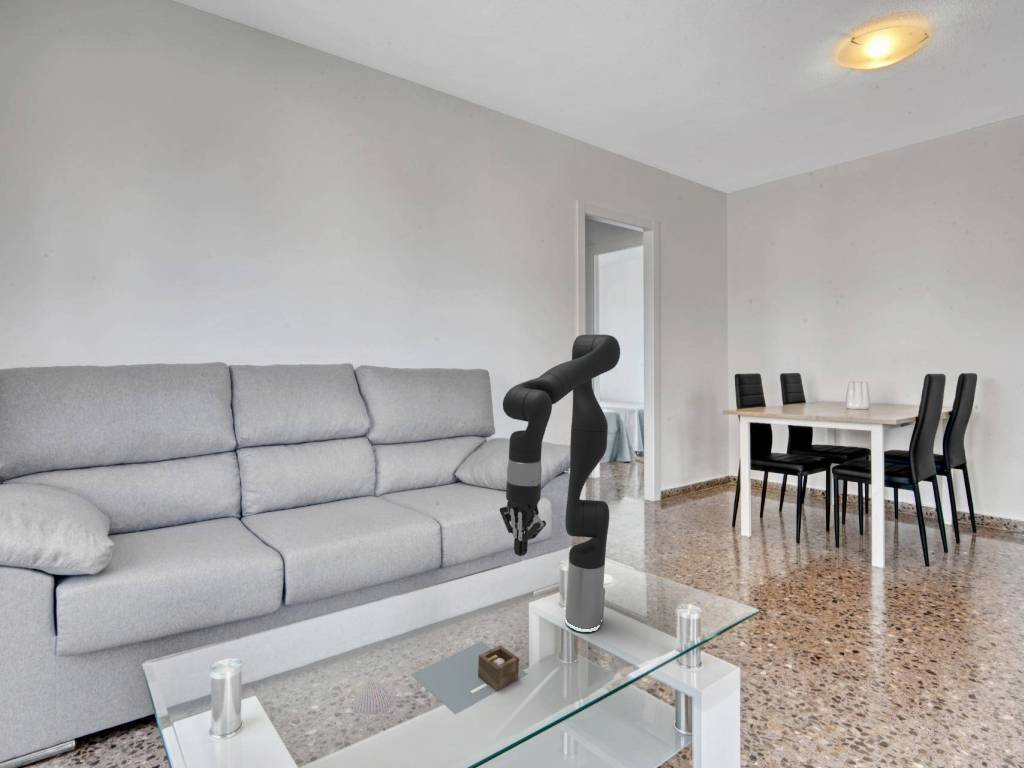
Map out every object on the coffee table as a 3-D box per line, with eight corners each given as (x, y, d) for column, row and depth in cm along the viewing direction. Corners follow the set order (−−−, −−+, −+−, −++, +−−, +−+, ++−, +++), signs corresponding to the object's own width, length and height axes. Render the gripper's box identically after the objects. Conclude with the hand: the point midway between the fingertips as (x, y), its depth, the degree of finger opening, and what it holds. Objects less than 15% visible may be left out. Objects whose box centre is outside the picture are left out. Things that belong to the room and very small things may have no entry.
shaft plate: (481, 646, 142) (481, 625, 141) (527, 678, 131) (528, 657, 130) (410, 679, 129) (410, 657, 128) (455, 719, 117) (455, 695, 116)
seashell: (390, 670, 127) (406, 687, 119) (391, 696, 127) (407, 715, 118) (342, 683, 122) (355, 702, 113) (343, 710, 122) (356, 731, 113)
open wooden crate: (499, 665, 133) (500, 642, 132) (518, 679, 128) (519, 655, 128) (478, 676, 129) (478, 653, 128) (496, 691, 124) (497, 666, 123)
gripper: (491, 474, 131) (488, 548, 133) (533, 490, 121) (529, 570, 124) (515, 469, 136) (512, 540, 138) (557, 483, 126) (553, 560, 129)
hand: (520, 554), depth 131 cm, fingers closed
